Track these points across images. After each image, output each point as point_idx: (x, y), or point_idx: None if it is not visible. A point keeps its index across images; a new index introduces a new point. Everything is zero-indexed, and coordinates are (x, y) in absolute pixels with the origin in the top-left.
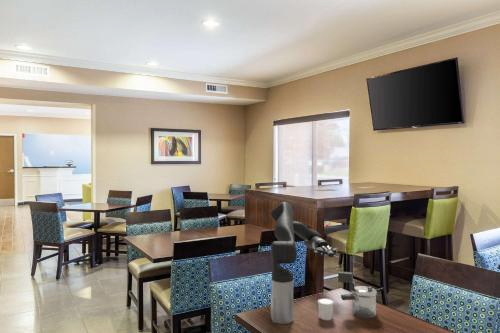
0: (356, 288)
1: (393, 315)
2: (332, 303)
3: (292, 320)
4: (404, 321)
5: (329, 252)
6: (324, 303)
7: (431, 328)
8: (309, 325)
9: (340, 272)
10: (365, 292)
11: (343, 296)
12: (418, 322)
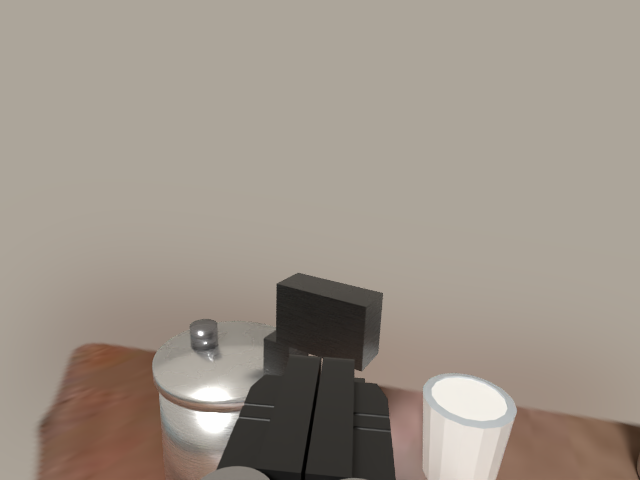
0: (253, 375)
1: (115, 423)
2: (435, 377)
3: (638, 458)
4: (132, 383)
5: (353, 391)
6: (478, 384)
7: (103, 343)
8: (541, 426)
9: (363, 293)
10: (245, 337)
11: (362, 379)
12: (92, 370)
